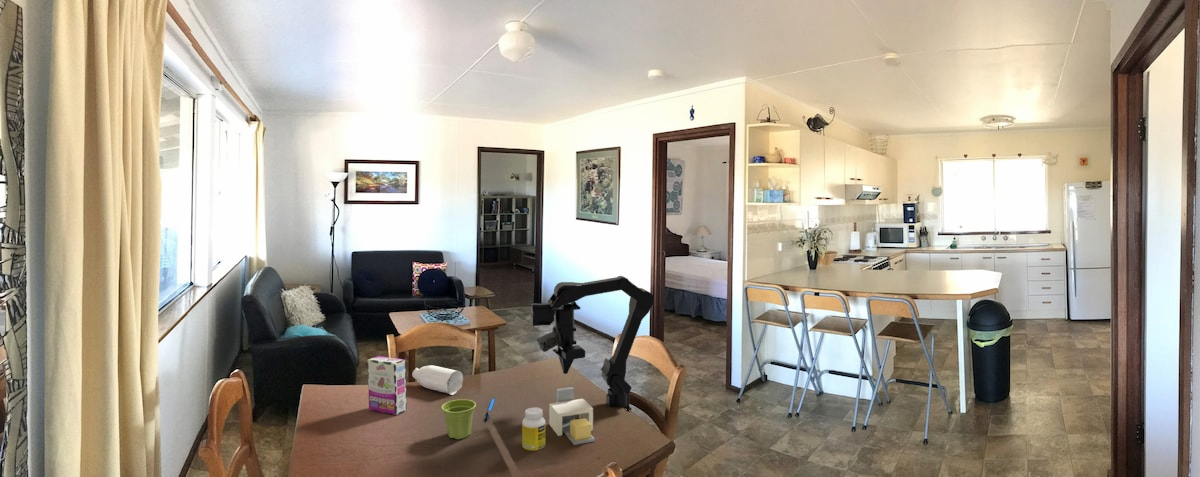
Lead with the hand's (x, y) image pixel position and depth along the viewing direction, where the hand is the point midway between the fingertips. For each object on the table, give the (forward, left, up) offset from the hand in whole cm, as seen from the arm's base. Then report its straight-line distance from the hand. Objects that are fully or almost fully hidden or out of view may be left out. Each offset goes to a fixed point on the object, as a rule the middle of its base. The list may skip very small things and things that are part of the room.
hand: (565, 373), depth 176 cm
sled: (+3, +16, -12) cm, 20 cm away
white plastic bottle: (+35, -35, -13) cm, 51 cm away
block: (+3, +21, -11) cm, 24 cm away
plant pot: (+33, +3, -13) cm, 35 cm away
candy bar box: (+51, -23, -13) cm, 57 cm away
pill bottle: (+16, +20, -13) cm, 29 cm away
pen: (+21, -12, -13) cm, 28 cm away
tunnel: (+3, +10, -13) cm, 16 cm away
